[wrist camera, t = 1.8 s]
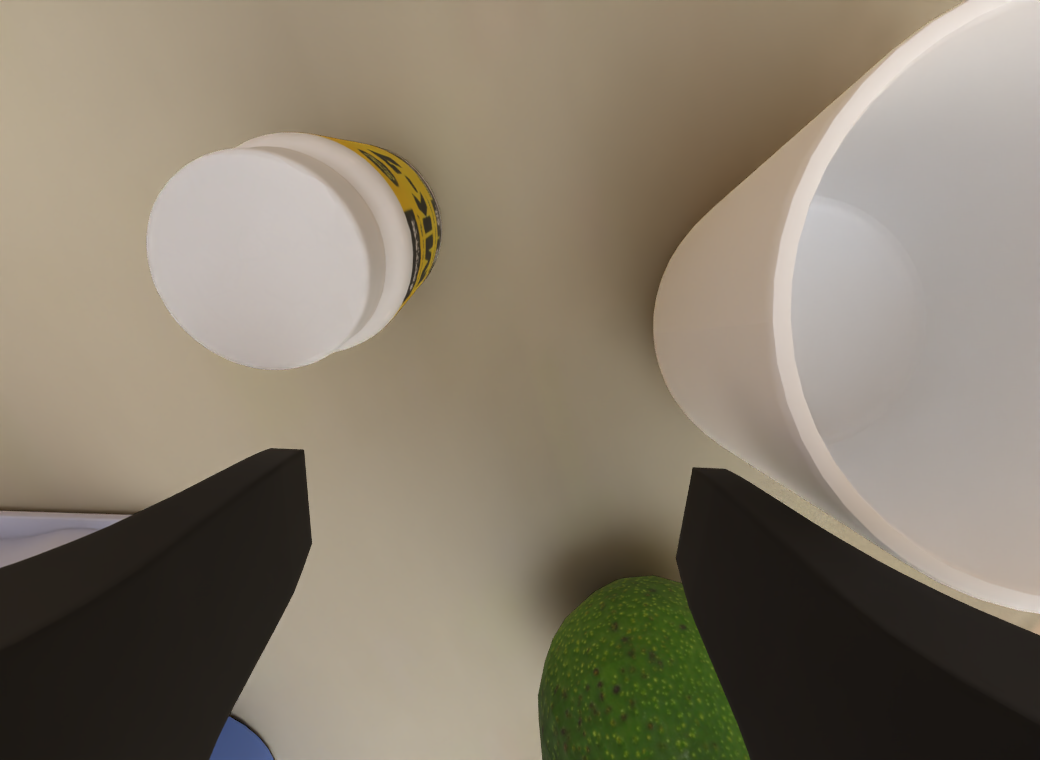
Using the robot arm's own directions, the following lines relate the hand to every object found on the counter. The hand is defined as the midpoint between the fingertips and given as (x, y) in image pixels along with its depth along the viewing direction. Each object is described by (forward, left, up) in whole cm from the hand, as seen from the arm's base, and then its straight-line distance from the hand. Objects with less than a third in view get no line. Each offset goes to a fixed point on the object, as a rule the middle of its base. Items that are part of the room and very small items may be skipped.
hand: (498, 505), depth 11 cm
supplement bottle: (-4, +4, -10) cm, 11 cm away
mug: (+10, +3, -9) cm, 13 cm away
